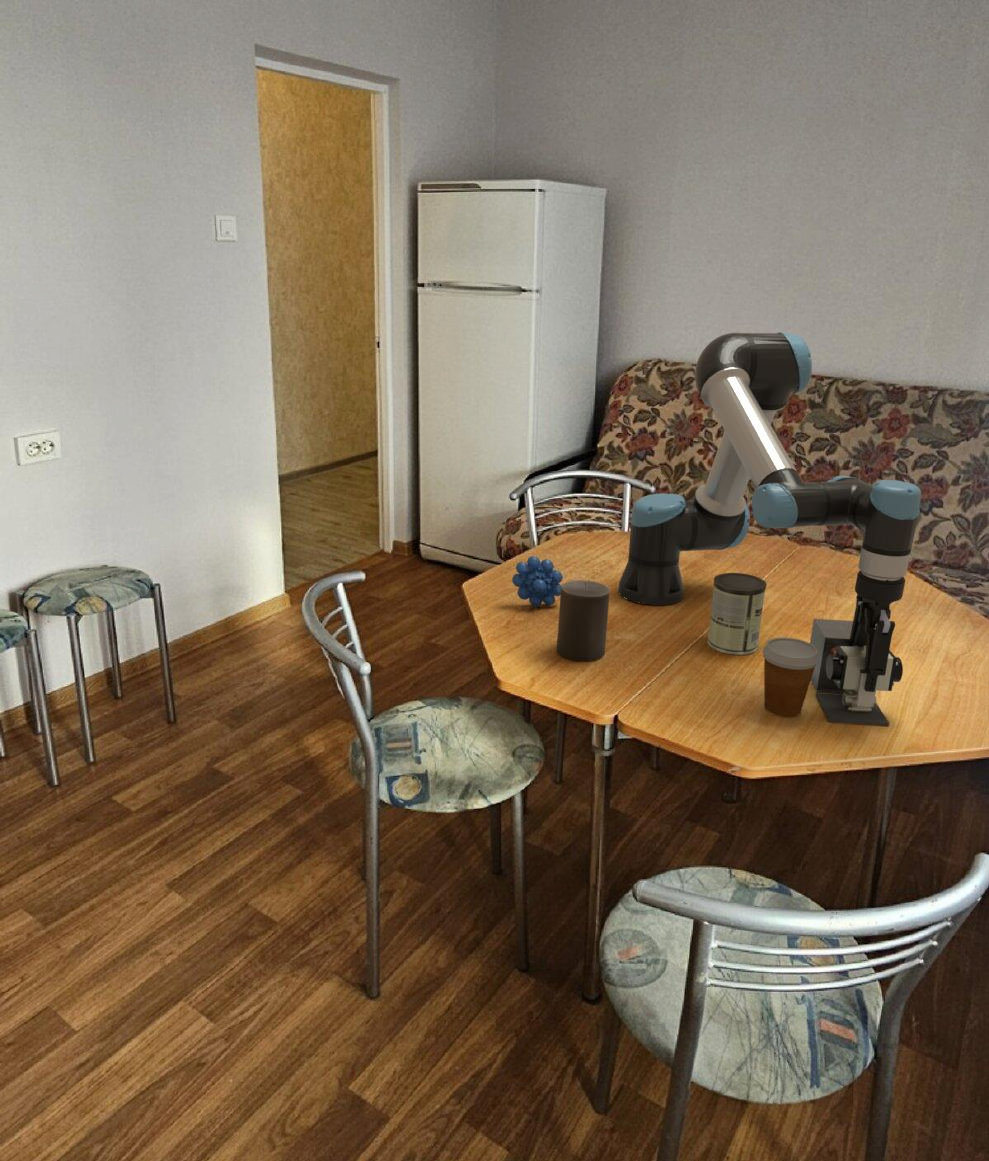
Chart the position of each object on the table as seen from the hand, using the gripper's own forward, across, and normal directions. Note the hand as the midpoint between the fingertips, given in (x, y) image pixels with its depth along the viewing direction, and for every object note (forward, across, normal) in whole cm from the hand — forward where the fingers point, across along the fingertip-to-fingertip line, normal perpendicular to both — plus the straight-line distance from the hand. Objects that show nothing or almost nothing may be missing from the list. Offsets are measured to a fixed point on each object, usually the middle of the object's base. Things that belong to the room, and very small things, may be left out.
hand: (859, 696), depth 160 cm
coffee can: (+3, +26, +18) cm, 32 cm away
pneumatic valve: (+2, 0, 0) cm, 2 cm away
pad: (+3, 0, +1) cm, 3 cm away
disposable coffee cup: (+3, -1, +13) cm, 13 cm away
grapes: (+3, +40, +59) cm, 71 cm away
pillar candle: (+3, +18, +49) cm, 52 cm away
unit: (+3, +11, +1) cm, 12 cm away
